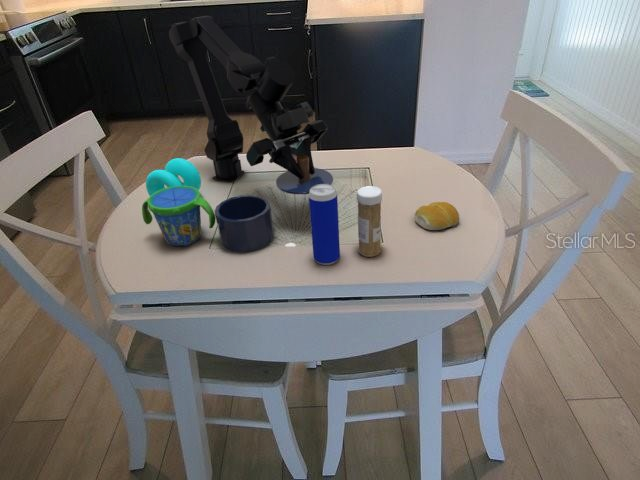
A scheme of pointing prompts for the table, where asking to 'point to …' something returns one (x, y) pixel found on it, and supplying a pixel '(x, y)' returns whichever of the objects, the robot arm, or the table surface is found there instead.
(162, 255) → the table surface
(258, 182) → the table surface
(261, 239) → the navy blue pot
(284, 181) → the lid
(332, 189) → the beverage can
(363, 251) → the spice jar
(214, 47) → the robot arm
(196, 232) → the snack cup
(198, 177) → the donuts
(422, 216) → the bread roll
